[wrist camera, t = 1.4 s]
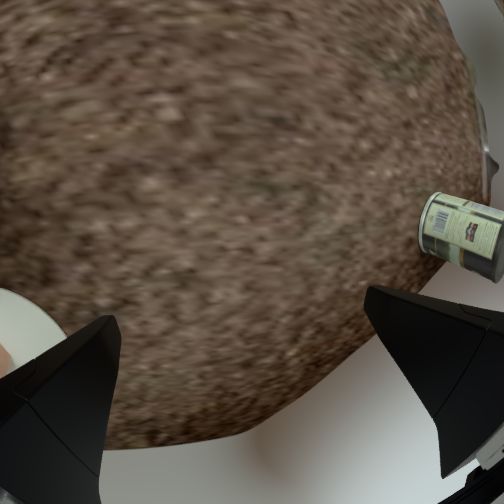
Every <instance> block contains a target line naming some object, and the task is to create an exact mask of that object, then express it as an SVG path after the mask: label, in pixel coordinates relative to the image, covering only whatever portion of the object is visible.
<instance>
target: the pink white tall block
mask: <svg viewBox="0 0 504 504" xmlns="http://www.w3.org/2000/svg"><path fill="white" fill-rule="evenodd" d="M10 357H11V355H10V354H9V353H8V352H7V351H6V350H5V348H4V347H3V346H2V345H1V343H0V378H2V377H4V376H5V375H7V371H8V366H9V361H10Z"/></svg>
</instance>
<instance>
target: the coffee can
mask: <svg viewBox="0 0 504 504" xmlns="http://www.w3.org/2000/svg"><path fill="white" fill-rule="evenodd" d="M418 232H419V234H418V238H419V245H420V248H421V250H422V251H423V252H425V253H429V254H431V255H434V256H436V257H439V258H441V259H444V260H446V261H449V262H451V263H454V264H456V265H458V266H460V267H463V268H465V269H467V270H469V271H472V272H474V273H476V274H479V275H481V276H483V277H485V278H487V279H490V280H492V282H494V283H498V282H499V281H500V279H501V278H502V276H503V274H504V212H503V211H500V210H497V209H494V208H490V207H488V206H484V205H481V204H478V203H474V202H471V201H468V200H464V199H461V198H457V197H454V196H450V195H446V194H443V193H441V192H436V193H434V194H433V195H432V196H431V197H430V198H429V199H428V201H427V203H426V205H425V207H424V210H423V212H422V215H421V219H420V224H419V231H418Z"/></svg>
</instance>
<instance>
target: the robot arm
mask: <svg viewBox="0 0 504 504" xmlns="http://www.w3.org/2000/svg"><path fill="white" fill-rule="evenodd" d="M364 310H365V313H366V315H367V316H368V318H369V320H370V322H371V324H372V326H373V328H374V329H375V331H376V333H377V335H378V337H379V338H380V340H381V341H382V343H383V344H384V346H385V347H386V349H387V350H388V352H389V353H390V355H391V356H392V358H393V359H394V361H395V362H396V364H397V365H398V366H399V368H400V369H401V371H402V372H403V374H404V376H405V377H406V378H407V380H408V382H409V383H410V385H411V386H412V388H413V389H414V391H415V392H416V394H417V395H418V397H419V398H420V400H421V401H422V403H423V405H424V406H425V408H426V409H427V411H428V413H429V414H430V416H431V418H433V421H434V423H435V425H436V427H437V431H438V440H439V451H440V466H441V477H442V479H444V478H446V477H448V476H449V475H451V474H452V473H454V472H456V471H457V470H459V469H460V468H462V467H463V466H465V465H467V464H468V463H470V462H471V461H472V460H474V459H475V458H476V459H477V460H478V462H479V463H480V466H478V467H477V468H475V469H474V470H473V471H472V472H471V473H469V474H468V475H467V479H466V483H465V487H463V488H462V489H460V490H459V491H457V492H456V493H454V494H453V495H451V496H449V497H448V498H446V499H445V500H443V501H441V502H439V503H438V504H504V312H499V311H493V310H488V309H483V308H478V307H473V306H469V305H464V304H460V303H459V304H457V303H454V302H450V301H446V300H441V299H436V298H433V297H428V296H424V295H420V294H416V293H411V292H407V291H403V290H399V289H394V288H390V287H386V286H382V285H372V286H369V287H368V288H367V292H366V296H365V301H364ZM120 349H121V333H120V330H119V327H118V324H117V322H116V319H115V317H114V316H113V315H104V316H101V317H100V318H98V319H97V320H95V321H93V322H92V323H90V324H88V325H87V326H85V327H84V328H82V329H80V330H79V331H77V332H76V333H74V334H72V335H71V336H69V337H67V338H66V339H64V340H63V341H61V342H60V343H58V344H56V345H55V346H53V347H52V348H50V349H48V350H47V351H45V352H44V353H42V354H40V355H39V356H37V357H36V358H35V359H32V360H30V361H29V362H27V363H26V364H24V365H22V366H21V367H19V368H17V369H16V370H14V371H12V372H11V373H9V374H7V375H5V376H4V377H2V378H0V504H101V500H100V495H99V475H100V468H101V461H102V454H103V448H104V441H105V435H106V430H107V424H108V419H109V414H110V408H111V403H112V399H113V394H114V389H115V385H116V380H117V375H118V368H119V358H120Z"/></svg>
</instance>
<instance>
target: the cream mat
mask: <svg viewBox="0 0 504 504" xmlns="http://www.w3.org/2000/svg"><path fill="white" fill-rule="evenodd" d="M66 338H67V336H66V334H65V333H64V331H63V330H62V329H61V328H60V326H59V325H58V324H57V323H56V322H55V321H54V320H53V319H52V318H51V317H50V316H49V315H48V314H47V313H46V312H45V311H44V310H42V309H41V308H40V307H39V306H37V305H36V304H34V303H33V302H31V301H30V300H28V299H26V298H25V297H23V296H21V295H19V294H17V293H14V292H12V291H10V290H7V289H4V288H0V343H1V345H2V346H3V347H4V348H5V350H6V351H7V352H8V353H9V354H10V355H11V357H10V361H9V366H8V371H7V374H9V373H11V372H12V371H14V370H16V369H17V368H19V367H21V366H22V365H24V364H26V363H27V362H29V361H30V360H32V359H35V358H36V357H37V356H39V355H40V354H42V353H44V352H45V351H47V350H48V349H50V348H52V347H53V346H55V345H56V344H58V343H60V342H61V341H63V340H64V339H66Z"/></svg>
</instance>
